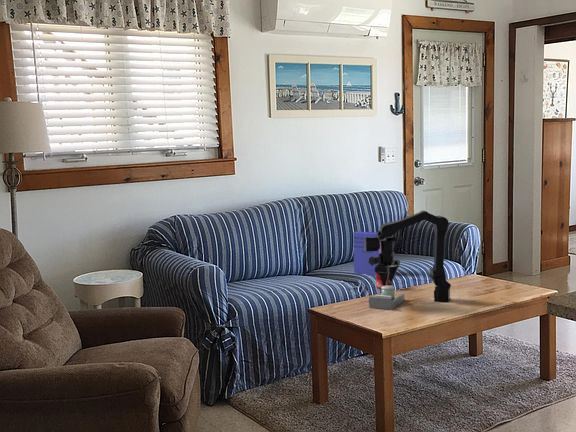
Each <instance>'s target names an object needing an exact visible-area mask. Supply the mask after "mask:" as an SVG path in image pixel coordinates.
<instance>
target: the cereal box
mask: <svg viewBox="0 0 576 432" xmlns="http://www.w3.org/2000/svg"><path fill="white" fill-rule="evenodd" d="M378 232H379V231H377V232H374V231H359V230H358V231H354V232H353V233H352V235H353V236H352V239H353V272H354V273H357V274H356V275H361V274H366V275H365V276H373V277H376V272H374V267H375V266H377V265H378V264H379V263H378V264H374V265H373V266H371V265H370V263H368V262H369V258H370V257H377V256H379V254H380V253H381V242H380V249H379V250H378V251H368V252H365V248H364V243H365V237H375V236H376V235H377V233H378ZM381 265H382V264H381Z"/></svg>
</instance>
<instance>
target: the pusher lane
mask: <svg viewBox="0 0 576 432" xmlns="http://www.w3.org/2000/svg"><path fill="white" fill-rule="evenodd" d="M379 295H382V293H380V294H379ZM405 300H406V299H405V293H401V294H399V295H398V296H396V297H395V299H394V300H392V298H382V297H375V296H369V297H368V308H370V309H378V310H389V311H391V310H393V309H394V308H395V307H397V306H398V305H399V304H401V303H402V302H403V301H405Z"/></svg>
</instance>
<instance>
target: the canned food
mask: <svg viewBox="0 0 576 432" xmlns="http://www.w3.org/2000/svg"><path fill="white" fill-rule="evenodd" d="M375 284H376V289H377V290H381V286H383V284H382V281H381V278H380V275H379V274H378V273H376V276H375ZM386 285H391V286H393V281H392V282H390V280H389V276H388V279H387V283H386Z"/></svg>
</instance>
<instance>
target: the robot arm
mask: <svg viewBox="0 0 576 432" xmlns="http://www.w3.org/2000/svg"><path fill="white" fill-rule="evenodd" d="M422 221H427V222H429V223H431V224H432V226H433V227H432V228H433V232H434V237H435V238H434V253H433V254H434V255H433V257H434V258H433V266H432V267H429V268H428V269H429V274H428V277H429V278H430V279H429V280H431V282H432V283H433V284H434V286H435V287H434V290H433V301H434V302H439V303H440V302H442V303H449V301H451V299H452V298H451V286H452V285H451V283H450V282H449V281H448V280H447V277H446V271H445V268H444V267H445V266H444V258H445V242H446V241H445V240H446V238H445V237H446V234H447V231H448V230H449V229H448V228H449V224H450V223H449V220H448V219H447V218H446V217H445V216H442V215H434V214H432V213H429V212H428V211H427V210H420V211H419V212H417V213H414V214H412V215H409V216H407V217H403V218H402V219H398V220H396V221H388V222H384V223H382V224H381V225H380V227H379V231H377V232H378V233H377V235H376V236H375V237H365V243H364V248H365V252H368V251H378V250H379V249H380V242H381V253H380V254H379V256H377V257H370V258H369V262H368V263H370V265H371V266H373V265H374V264H378V263H379V264H378V265H377V266H375V267H374V272H376V273H378V274H379V275H380V278H381V281H382V284H383V286H386V283H387V279H388V276H389V280H390V282H392V283H393V280H394V278H395V276H396V273H397V271H398V269H399V268H400V267H399V266H401V261H400V259H398V258H395V259H394V256H395V254H396V252H395V251H394V242H398V240H399V239H397V238H396V236H395V234H397V233H398V232H399V231H401V230H403V229H405V228H407V227H410V226H413V225H415V224H418V223H420V222H422ZM381 264H382V265H381Z"/></svg>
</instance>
